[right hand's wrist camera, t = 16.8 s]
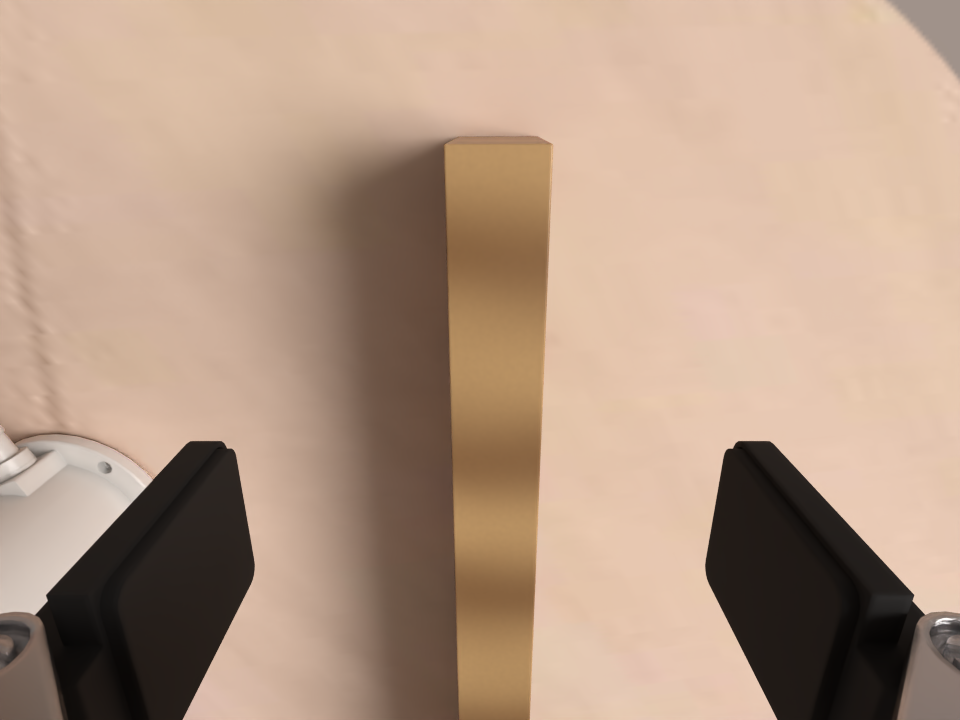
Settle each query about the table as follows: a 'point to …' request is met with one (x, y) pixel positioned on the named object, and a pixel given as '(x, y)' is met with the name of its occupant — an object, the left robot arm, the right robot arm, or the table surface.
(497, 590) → the beam
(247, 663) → the table surface
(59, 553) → the right robot arm
